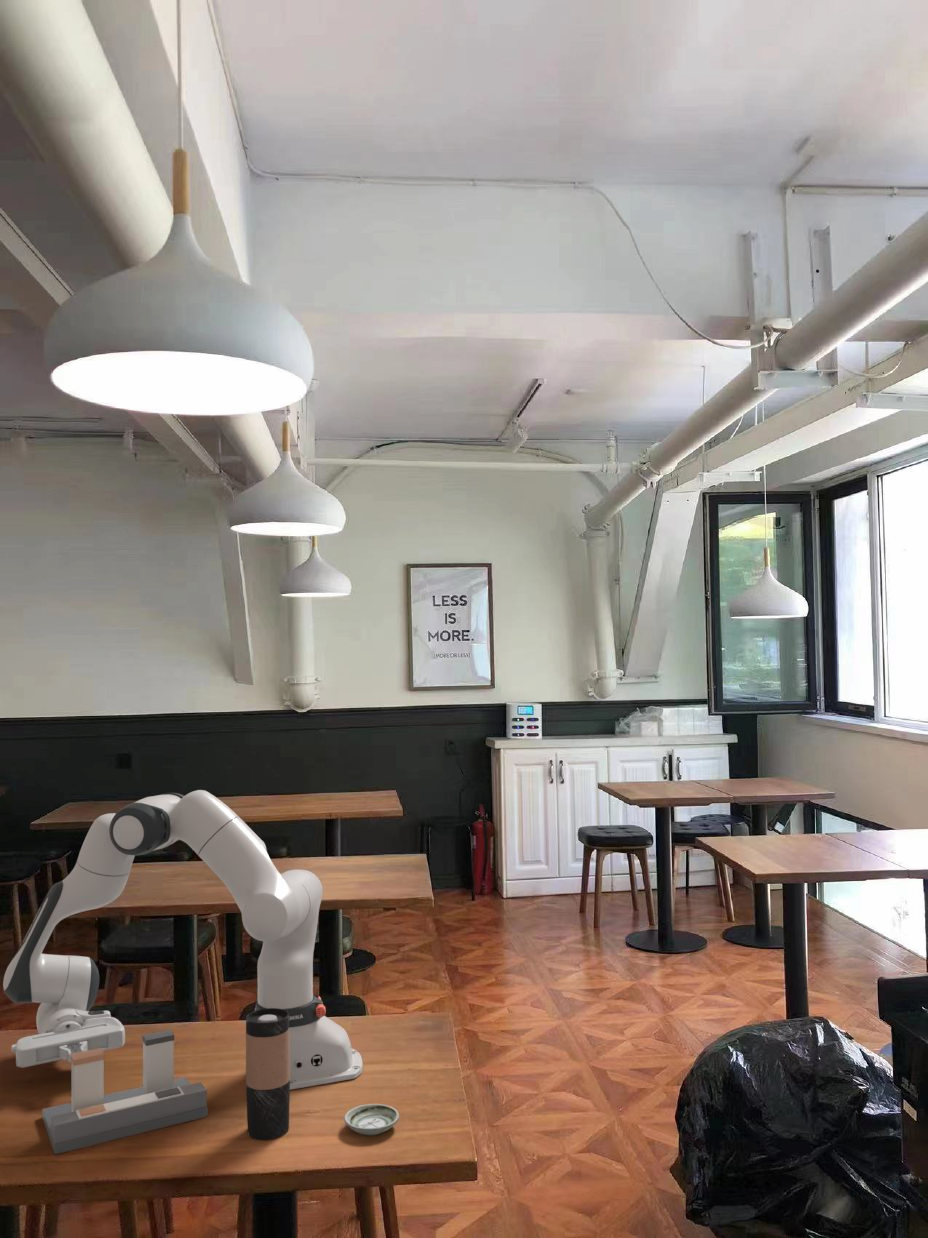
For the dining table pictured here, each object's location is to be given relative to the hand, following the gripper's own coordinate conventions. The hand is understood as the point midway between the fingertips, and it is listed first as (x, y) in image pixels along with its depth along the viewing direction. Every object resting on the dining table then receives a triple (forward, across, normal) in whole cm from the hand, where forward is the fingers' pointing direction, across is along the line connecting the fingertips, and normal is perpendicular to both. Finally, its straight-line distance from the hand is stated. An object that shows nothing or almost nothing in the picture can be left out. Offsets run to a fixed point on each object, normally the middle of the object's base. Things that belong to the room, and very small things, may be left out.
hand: (76, 1056), depth 189 cm
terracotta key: (+15, 0, +6) cm, 16 cm away
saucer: (+42, +43, +8) cm, 61 cm away
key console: (+14, +6, +8) cm, 17 cm away
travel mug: (+33, +27, +8) cm, 44 cm away
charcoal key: (+12, +13, +6) cm, 18 cm away
